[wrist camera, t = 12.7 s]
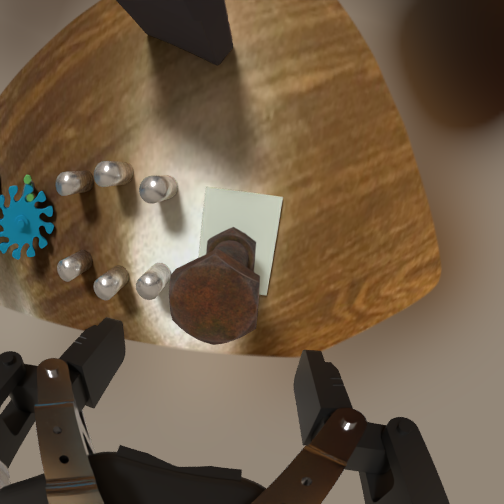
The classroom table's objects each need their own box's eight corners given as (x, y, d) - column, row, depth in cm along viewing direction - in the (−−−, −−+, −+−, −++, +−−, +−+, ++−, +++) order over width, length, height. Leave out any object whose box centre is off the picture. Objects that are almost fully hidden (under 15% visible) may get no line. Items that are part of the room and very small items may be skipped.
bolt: (257, 271, 30) (254, 352, 16) (211, 267, 31) (171, 343, 16) (261, 217, 29) (262, 259, 14) (213, 214, 29) (167, 252, 15)
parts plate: (197, 283, 32) (196, 285, 31) (206, 186, 29) (205, 187, 28) (266, 293, 32) (266, 295, 31) (282, 197, 29) (282, 197, 28)
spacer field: (78, 275, 32) (59, 288, 28) (79, 161, 28) (57, 161, 24) (170, 294, 32) (158, 311, 28) (180, 165, 28) (167, 164, 24)
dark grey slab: (238, 43, 24) (225, -40, 10) (215, 70, 25) (183, -4, 11) (164, 13, 23) (118, -56, 8) (143, 38, 24) (83, -23, 9)
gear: (47, 266, 30) (-16, 255, 22) (44, 250, 34) (-10, 240, 26) (65, 185, 29) (-1, 169, 21) (61, 180, 32) (4, 165, 25)
